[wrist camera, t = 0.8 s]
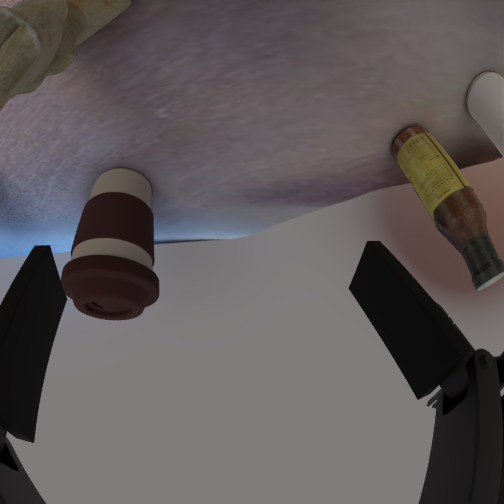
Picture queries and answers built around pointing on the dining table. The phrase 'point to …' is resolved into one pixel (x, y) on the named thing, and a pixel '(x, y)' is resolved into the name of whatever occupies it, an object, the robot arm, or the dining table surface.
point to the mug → (488, 106)
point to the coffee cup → (114, 249)
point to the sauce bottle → (449, 202)
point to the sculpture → (46, 38)
